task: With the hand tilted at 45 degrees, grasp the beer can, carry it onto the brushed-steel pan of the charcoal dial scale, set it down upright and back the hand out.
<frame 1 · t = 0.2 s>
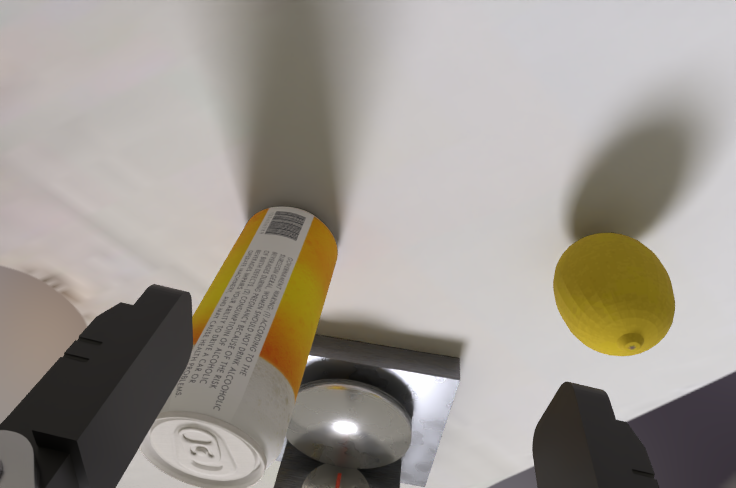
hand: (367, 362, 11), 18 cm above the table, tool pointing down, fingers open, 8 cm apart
scale: (351, 402, 41), on the table
beer can: (294, 238, 32), on the table
pan: (346, 426, 38), point 3 cm above the table, slide at 0.8 cm
lemon: (591, 243, 29), on the table
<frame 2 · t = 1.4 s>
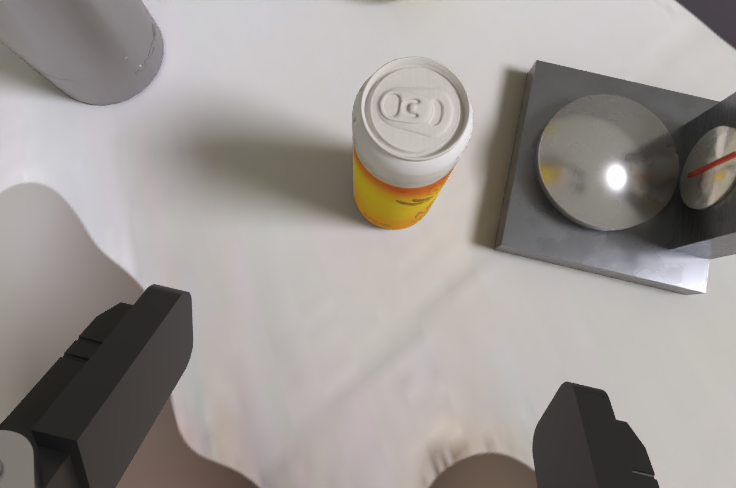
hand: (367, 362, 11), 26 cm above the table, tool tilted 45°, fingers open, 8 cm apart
scale: (604, 180, 39), on the table
beer can: (392, 194, 39), on the table
pan: (606, 161, 36), point 3 cm above the table, slide at 0.8 cm
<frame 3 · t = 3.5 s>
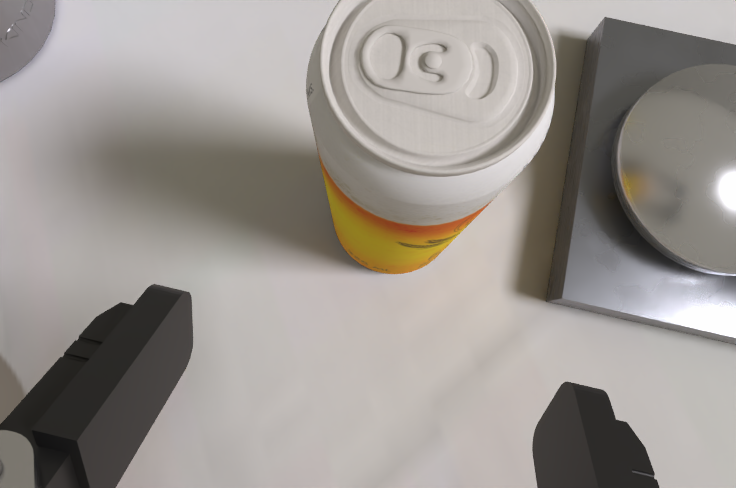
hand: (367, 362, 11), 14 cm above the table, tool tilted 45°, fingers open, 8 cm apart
scale: (707, 194, 26), on the table
beer can: (392, 218, 26), on the table
pan: (723, 167, 23), point 3 cm above the table, slide at 0.8 cm
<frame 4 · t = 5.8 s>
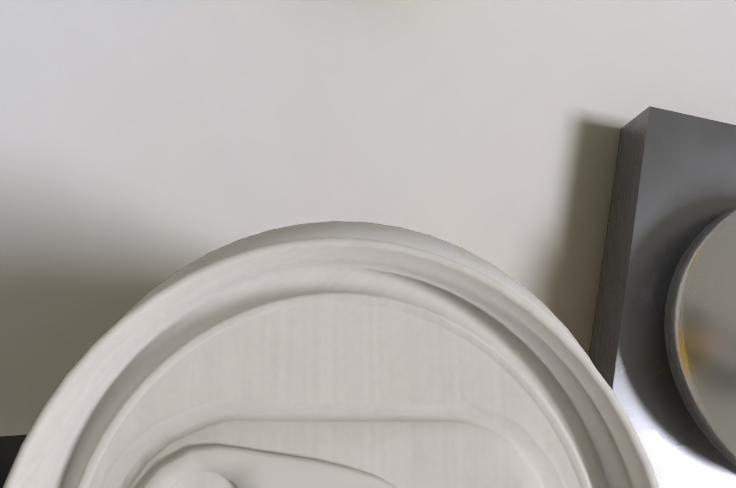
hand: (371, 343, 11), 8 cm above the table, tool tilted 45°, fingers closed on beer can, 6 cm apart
beer can: (353, 385, 19), on the table, touching gripper
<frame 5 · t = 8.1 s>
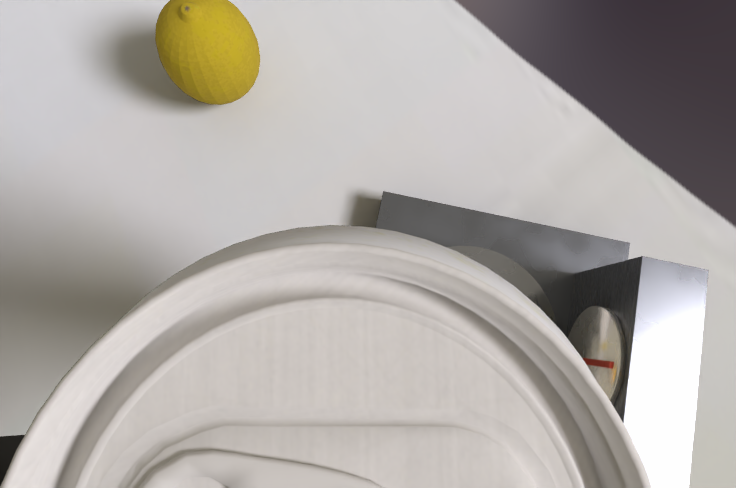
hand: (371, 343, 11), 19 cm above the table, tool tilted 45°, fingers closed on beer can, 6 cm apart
scale: (477, 341, 30), on the table
beer can: (352, 386, 19), point 11 cm above the table, touching gripper
pan: (464, 337, 27), point 3 cm above the table, slide at 0.8 cm
lemon: (228, 86, 33), on the table
when the fingers open (14 cm above the table, at t = 10.3 s): beer can drops 2 cm, resting on pan.
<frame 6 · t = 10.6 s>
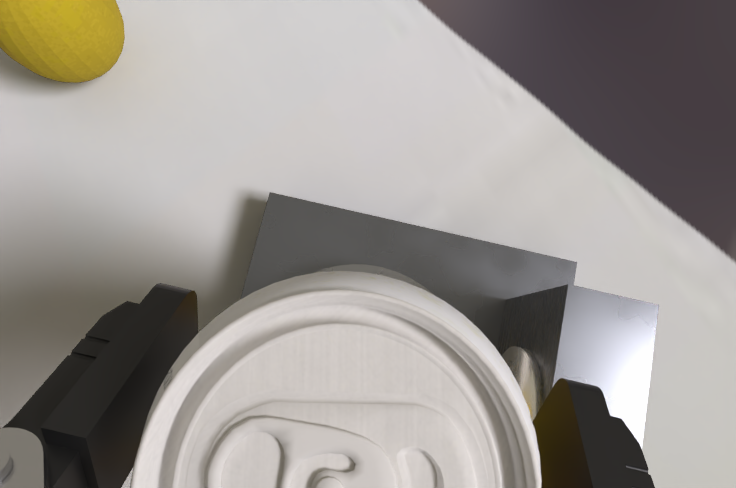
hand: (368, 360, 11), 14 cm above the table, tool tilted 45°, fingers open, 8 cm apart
scale: (386, 381, 24), on the table
beer can: (351, 383, 21), point 3 cm above the table, touching pan
pan: (355, 379, 22), point 3 cm above the table, slide at 1.2 cm, touching beer can
lemon: (100, 63, 27), on the table
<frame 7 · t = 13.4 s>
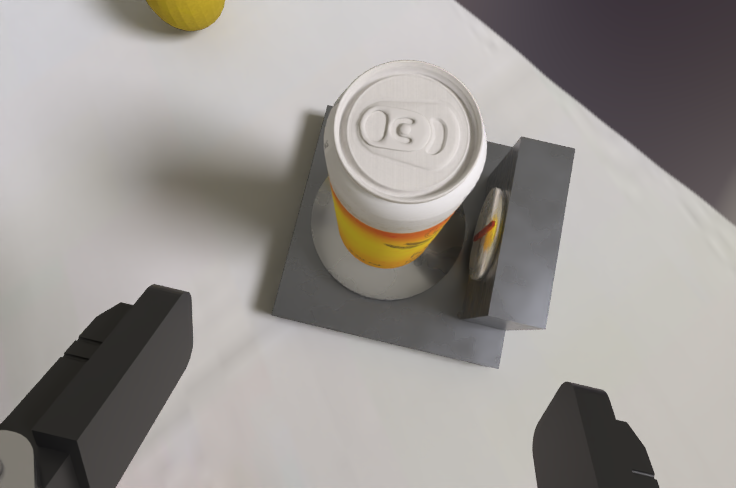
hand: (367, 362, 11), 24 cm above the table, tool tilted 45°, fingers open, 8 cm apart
scale: (406, 236, 35), on the table
beer can: (385, 224, 32), point 3 cm above the table, touching pan
pan: (388, 223, 33), point 3 cm above the table, slide at 1.2 cm, touching beer can
lemon: (201, 20, 38), on the table
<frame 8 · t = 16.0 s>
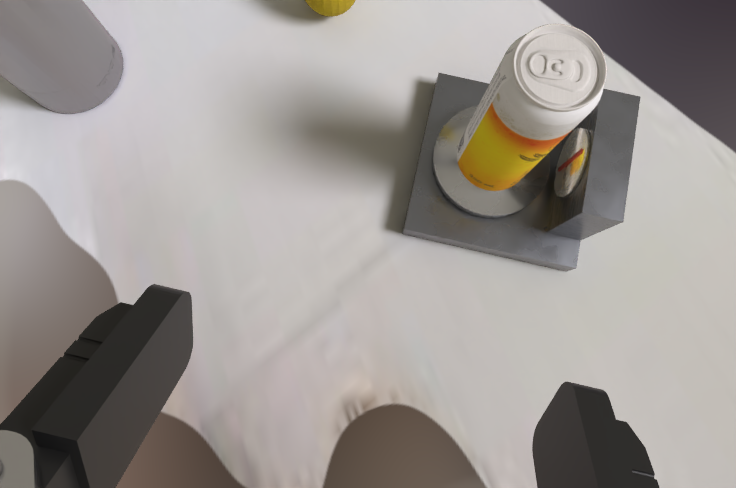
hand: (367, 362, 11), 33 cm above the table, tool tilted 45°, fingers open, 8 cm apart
scale: (498, 174, 46), on the table
beer can: (489, 160, 43), point 3 cm above the table, touching pan
pan: (490, 160, 43), point 3 cm above the table, slide at 1.2 cm, touching beer can
lemon: (331, 9, 49), on the table
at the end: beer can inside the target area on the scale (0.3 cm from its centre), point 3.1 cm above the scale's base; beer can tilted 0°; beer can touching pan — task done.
